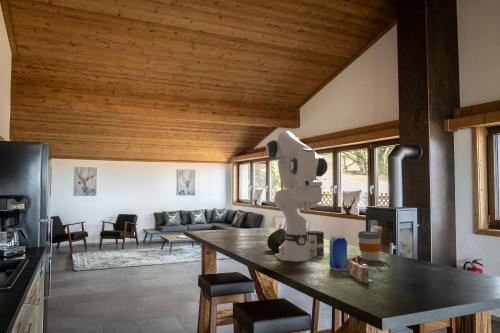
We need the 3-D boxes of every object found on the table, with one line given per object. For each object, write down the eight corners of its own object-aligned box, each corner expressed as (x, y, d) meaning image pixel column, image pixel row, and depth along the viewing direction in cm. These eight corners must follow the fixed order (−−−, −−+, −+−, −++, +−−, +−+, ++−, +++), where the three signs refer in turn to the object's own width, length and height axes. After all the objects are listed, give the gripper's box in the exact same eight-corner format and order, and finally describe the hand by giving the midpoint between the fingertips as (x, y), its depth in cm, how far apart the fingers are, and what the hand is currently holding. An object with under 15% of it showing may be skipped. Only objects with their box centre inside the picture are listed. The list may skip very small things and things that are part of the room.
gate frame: (339, 273, 179) (339, 258, 179) (350, 272, 181) (350, 257, 181) (363, 282, 162) (363, 266, 162) (375, 281, 164) (375, 265, 165)
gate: (345, 272, 179) (345, 258, 179) (350, 272, 179) (350, 258, 179) (363, 283, 159) (363, 267, 159) (369, 283, 159) (369, 267, 160)
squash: (260, 243, 234) (276, 225, 232) (266, 241, 249) (281, 224, 247) (276, 260, 230) (293, 242, 228) (282, 256, 245) (297, 239, 243)
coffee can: (322, 254, 228) (322, 231, 228) (325, 258, 217) (325, 233, 218) (305, 254, 228) (305, 230, 229) (307, 257, 218) (307, 233, 218)
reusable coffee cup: (377, 262, 205) (376, 234, 206) (354, 259, 213) (354, 232, 213) (384, 259, 215) (384, 232, 216) (363, 256, 223) (362, 230, 223)
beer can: (334, 272, 182) (334, 238, 183) (326, 268, 190) (326, 236, 191) (350, 271, 184) (350, 237, 185) (341, 267, 192) (341, 235, 193)
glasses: (359, 263, 204) (359, 254, 205) (391, 267, 194) (391, 257, 195) (349, 267, 193) (349, 258, 194) (382, 272, 183) (382, 262, 184)
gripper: (290, 182, 189) (290, 210, 188) (312, 182, 170) (312, 213, 169) (301, 182, 191) (301, 210, 191) (324, 182, 172) (324, 213, 172)
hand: (306, 211), depth 180 cm, fingers closed
